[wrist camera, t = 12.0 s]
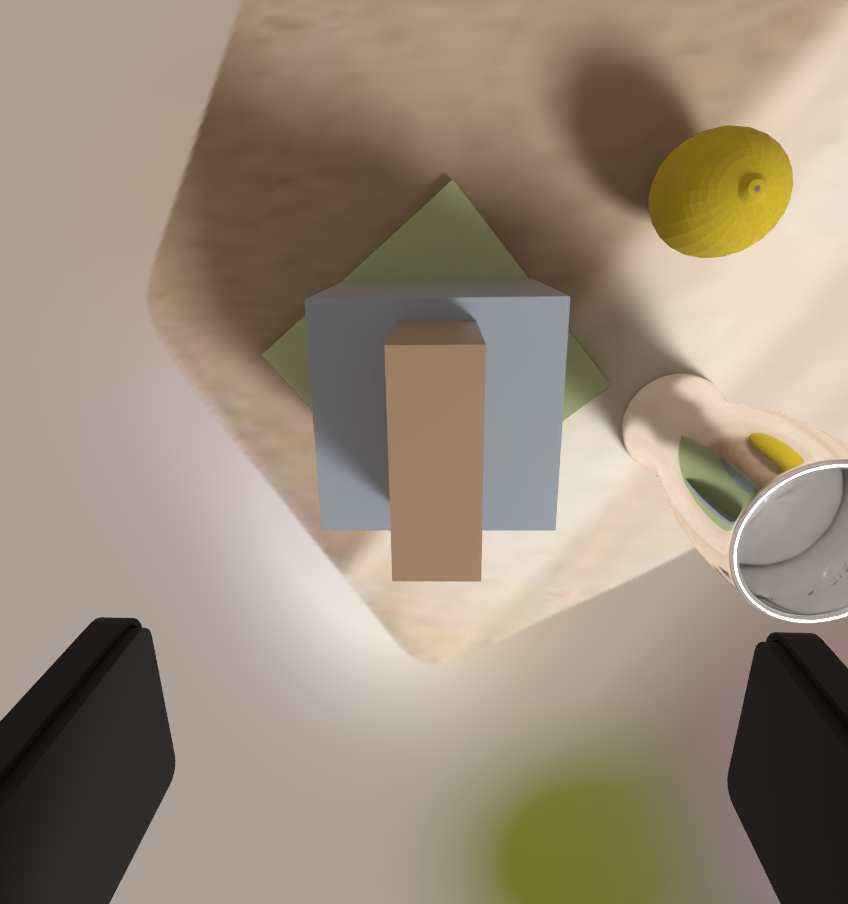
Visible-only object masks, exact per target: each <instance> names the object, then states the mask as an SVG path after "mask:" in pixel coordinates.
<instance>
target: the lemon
mask: <svg viewBox="0 0 848 904" xmlns="http://www.w3.org/2000/svg"><path fill="white" fill-rule="evenodd" d="M792 187H793V174H792V167H791V164H790V161H789V158H788V156H787V154H786V153H785V151H784V150H783V148H782V147H781V145H780V144H779V143H778V142H777V141H776V140H774V139H773V138H772V137H770V136H769V135H768V134H766V133H763V132H761V131H758V130H756V129H753V128H750V127H740V126H723V127H718V128H713V129H708V130H705V131H703V132H701V133H699V134H697V135H695V136H693V137H691V138H689V139H687V140H685V141H684V142H683V143H682V144H680V145H679V146H678V147H677V148H675V149H674V150H673V151H672V152H671V153H670V154H669V155H668V156H667V158H666V159H665V160H664V162H663V163H662V164H661V165H660V167H659V169H658V171H657V173H656V175H655V177H654V179H653V181H652V185H651V189H650V193H649V214H650V218H651V221H652V225H653V226H654V228H655V230H656V232H657V233H658V235H659V237H660V238H661V239H662V240H663V241H664V242H665V243H666V244H667V245H668V246H670V247H671V248H673V249H675V250H677V251H679V252H681V253H682V254H685V255H690V256H694V257H699V258H711V257H723V256H726V255H729V254H732V253H736V252H739V251H741V250H744V249H745V248H747V247H749V246H751V245H752V244H754V243H756V242H757V241H759V240H760V239H762V238H763V237H764V236H765V235H766V234H767V233H768V232H769V231H771V230H772V229H773V228H774V226H775V225H776V224H777V222H778V221H779V219H780V218H781V217H782V215H783V214H784V212H785V210H786V207H787V205H788V203H789V200H790V197H791V192H792Z"/></svg>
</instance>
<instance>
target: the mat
mask: <svg viewBox="0 0 848 904" xmlns="http://www.w3.org/2000/svg"><path fill="white" fill-rule="evenodd" d="M501 278H528V276H527V275H526V274H525V272H524V271H523V270H522V269H521V267H520V266H519V265H518V263H517V262H516V261H515V259H514V258H513V257H512V255H511V254H510V253H509V252H508V250H507V249H506V248H505V246H504V245H503V244H502V242H501V241H500V240H499V239H498V237H497V236H496V235H495V233H494V232H493V231H492V229H491V228H490V227H489V225H488V224H487V223H486V222H485V220H484V219H483V218H482V216H481V215H480V214H479V212H478V211H477V210H476V209H475V207H474V206H473V205H472V203H471V202H470V201H469V199H468V198H467V197H466V196H465V194H464V193H463V192H462V190H461V189H460V188H459V186H458V185H457V184H456V182H455V181H454V180H451V181H450V182H449V183H448V184H447V185H446V186H445V187H444V188H443V189H442V190H441V191H439V192H438V193H437V194H436V195H435V196H434V197H433V198H432V199H431V200H430V201H429V202H427V203H426V204H425V205H424V206H423V207H422V208H421V209H420V210H419V211H418V212H417V213H416V214H414V215H413V216H412V217H411V218H410V219H409V220H408V221H407V222H406V223H405V224H404V225H402V226H401V227H400V228H399V229H398V230H397V231H396V232H395V233H394V234H393V235H392V236H390V237H389V238H388V239H387V240H386V241H385V242H384V243H383V244H382V245H381V246H380V247H378V248H377V249H376V250H375V251H374V252H373V253H372V254H371V255H370V256H369V257H368V258H366V259H365V260H364V261H363V262H362V263H361V264H360V265H359V266H358V267H357V268H356V269H355V270H353V271H352V272H351V273H350V274H349V275H348V276H347V277H346V278H345V279H344V280H343V281H345V280H416V279H501ZM343 281H341V282H343ZM341 282H340V283H341ZM262 356H263V357H264V358H265V360H266V361H267V362H268V363H269V364H270V365H271V366H272V367H273V368H274V369H275V370H276V371H277V372H278V373H279V375H280V376H281V377H282V378H283V379H284V380H285V381H286V382H287V383H288V384H289V385H290V386H291V387H292V388H293V390H294V391H295V392H296V393H297V394H298V395H299V396H300V397H301V398H302V399H303V400H304V401H305V402H306V403H307V405H308V406H309V407H310V408H311V409H312V410H313V408H312V394H311V381H310V368H309V355H308V342H307V329H306V316H305V315H304V316H303V317H302V318H301V319H300V320H299V321H298V322H297V323H296V324H295V325H294V326H292V327H291V328H290V329H289V330H288V331H287V332H286V333H285V334H284V335H283V336H282V337H280V338H279V339H278V340H277V341H276V342H275V343H274V344H273V345H272V346H271V347H270V348H268V349H267V350H266V351H265V352H264V353H263V354H262ZM610 385H611V384H610V383H609V382H608V381H607V379H606V378H605V377H604V375H603V374H602V373H601V371H600V370H599V369H598V368H597V366H596V365H595V364H594V362H593V361H592V360H591V358H590V357H589V356H588V355H587V353H586V352H585V351H584V349H583V348H582V347H581V345H580V344H579V343H578V341H577V340H576V339H575V338H574V336H573V335H572V334H571V332H570V331H569V330H568V342H567V358H566V373H565V388H564V404H563V419H562V421H564V420H565V419H566V418H568V417H569V416H570V415H572V414H573V413H574V412H576V411H577V410H578V409H580V408H581V407H582V406H584V405H585V404H586V403H587V402H589V401H590V400H591V399H593V398H594V397H595V396H597V395H598V394H599V393H601V392H602V391H603V390H605V389H606V388H607V387H609V386H610Z"/></svg>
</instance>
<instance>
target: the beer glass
mask: <svg viewBox="0 0 848 904" xmlns="http://www.w3.org/2000/svg"><path fill="white" fill-rule="evenodd" d="M622 436H623V441H624V444H625V447H626V449H627V451H628V453H629V454H630V456H631V457H632V458H633V459H634V460H635V461H636V462H637V463H638V464H640V465H641V466H643V467H644V468H646V469H648V470H650V471H652V472H654V473H656V474H657V476H658V478H659V481H660V483H661V486H662V489H663V492H664V494H665V497H666V499H667V502H668V504H669V506H670V509H671V511H672V512H673V514H674V516H675V518H676V520H677V522H678V524H679V526H680V527H681V529H682V530H683V532H684V533H685V535H686V536H687V537H688V539H689V540H690V541H691V543H692V544H693V546H694V547H695V548H696V549H697V550H698V551H699V552H700V554H701V555H702V556H703V557H704V558H705V559H706V560H707V561H708V562H709V564H710V565H711V566H712V567H714V569H715V570H717V572H719V574H721V575H722V576H723V577H724V578H725V579H726V580H727V581H728V582H729V583H730V584H731V585H732V586H733V587H734V588H735V589H737V590H738V591H739V592H740V594H741V595H742V596H743V598H744V599H745V600H746V601H747V602H748V603H749V604H751V605H752V606H753V607H754V608H756V609H757V610H759V611H760V612H762V613H764V614H766V615H768V616H770V617H772V618H775V619H778V620H782V621H786V622H792V623H803V624H804V623H805V624H811V623H822V622H828V621H833V620H837V619H840V618H844V617H846V616H848V444H846V443H845V442H843V441H841V440H840V439H838V438H836V437H835V436H833V435H831V434H829V433H828V432H826V431H824V430H822V429H820V428H819V427H816V426H814V425H812V424H810V423H808V422H805V421H803V420H801V419H799V418H796V417H794V416H791V415H788V414H785V413H781V412H777V411H774V410H770V409H767V408H762V407H757V406H752V405H746V404H741V403H735V402H730V401H728V400H727V399H726V397H725V396H724V395H723V394H722V392H721V391H720V390H719V389H718V388H717V387H716V386H715V385H714V384H712V383H711V382H709V381H708V380H706V379H704V378H702V377H699V376H696V375H692V374H671V375H667V376H663V377H660V378H658V379H656V380H654V381H652V382H650V383H648V384H647V385H646V386H644V387H643V388H642V389H641V390H640V391H639V392H638V393H637V394H636V395H635V396H634V397H633V398H632V400H631V401H630V403H629V405H628V407H627V409H626V411H625V414H624V417H623V422H622Z"/></svg>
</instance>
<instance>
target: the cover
mask: <svg viewBox="0 0 848 904" xmlns="http://www.w3.org/2000/svg"><path fill="white" fill-rule="evenodd" d="M304 303H305V316H306V329H307V342H308V355H309V368H310V381H311V394H312V408H313V421H314V434H315V447H316V460H317V473H318V486H319V499H320V512H321V526H322V530H391V551H392V580H393V581H481V558H482V530H555V528H556V512H557V497H558V481H559V466H560V450H561V435H562V419H563V404H564V388H565V373H566V358H567V342H568V327H569V311H570V296H569V295H567V294H564V293H562V292H560V291H558V290H556V289H554V288H552V287H550V286H547V285H545V284H543V283H541V282H539V281H537V280H535V279H532V278H501V279H416V280H345V281H343V282H341V283H339V284H336V285H334V286H332V287H330V288H328V289H325V290H323V291H321V292H319V293H317V294H315V295H312V296H310V297H308V298H306V299H304Z"/></svg>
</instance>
